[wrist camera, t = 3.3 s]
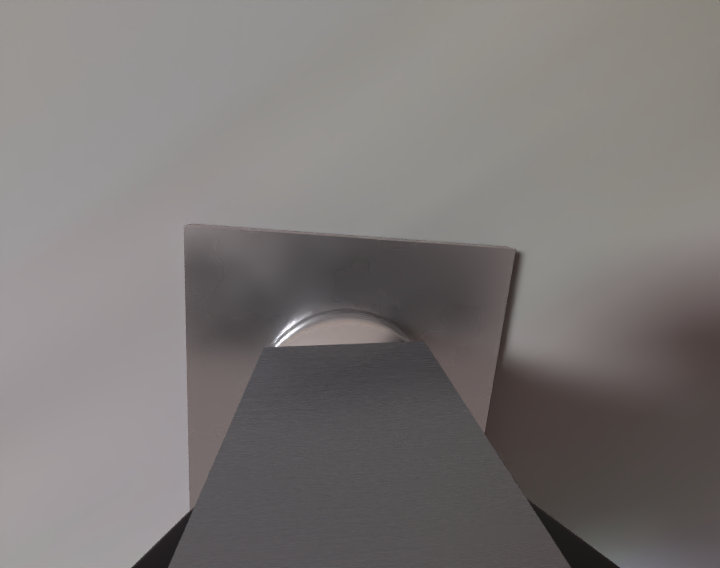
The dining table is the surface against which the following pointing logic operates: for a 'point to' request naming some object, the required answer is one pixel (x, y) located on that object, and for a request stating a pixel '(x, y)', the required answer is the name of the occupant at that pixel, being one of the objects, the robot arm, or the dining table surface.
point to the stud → (330, 311)
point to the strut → (359, 472)
